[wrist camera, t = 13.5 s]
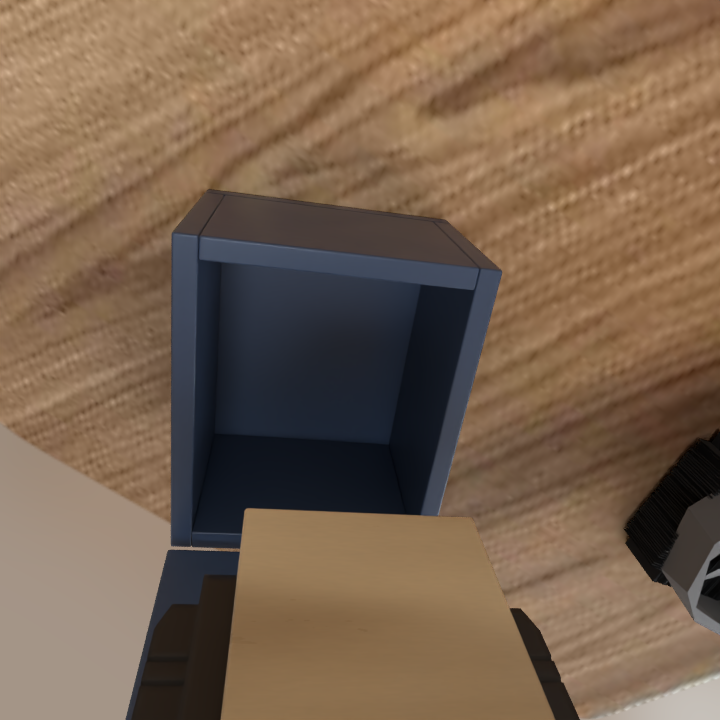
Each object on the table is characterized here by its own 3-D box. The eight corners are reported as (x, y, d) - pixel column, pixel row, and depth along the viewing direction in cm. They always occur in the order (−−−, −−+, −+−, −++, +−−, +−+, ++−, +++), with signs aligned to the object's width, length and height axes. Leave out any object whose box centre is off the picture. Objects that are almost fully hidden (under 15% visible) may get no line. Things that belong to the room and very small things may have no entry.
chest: (207, 188, 24) (170, 232, 17) (446, 219, 25) (503, 271, 19) (200, 436, 29) (170, 546, 22) (398, 448, 31) (428, 555, 24)
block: (428, 664, 13) (487, 920, 9) (233, 665, 12) (203, 943, 8) (472, 515, 11) (572, 756, 7) (245, 506, 10) (214, 767, 6)
